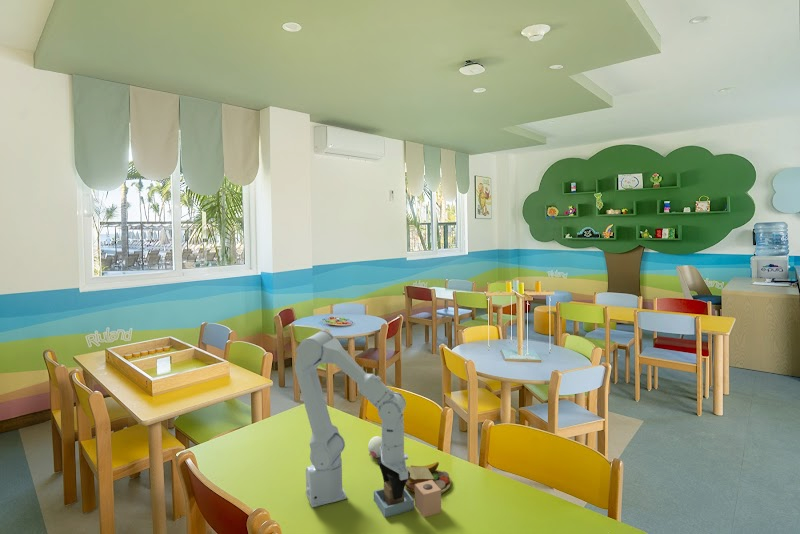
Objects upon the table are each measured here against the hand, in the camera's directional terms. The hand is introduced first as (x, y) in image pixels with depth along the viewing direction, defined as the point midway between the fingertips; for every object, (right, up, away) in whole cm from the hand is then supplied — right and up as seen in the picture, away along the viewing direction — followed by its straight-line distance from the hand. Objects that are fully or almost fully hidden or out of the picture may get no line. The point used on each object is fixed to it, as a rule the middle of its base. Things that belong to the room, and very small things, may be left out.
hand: (393, 492), depth 117 cm
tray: (0, -3, 0) cm, 3 cm away
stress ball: (-5, -1, +26) cm, 26 cm away
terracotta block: (+9, -4, -2) cm, 10 cm away
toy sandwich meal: (+9, -3, +9) cm, 13 cm away
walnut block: (0, -3, 0) cm, 3 cm away
